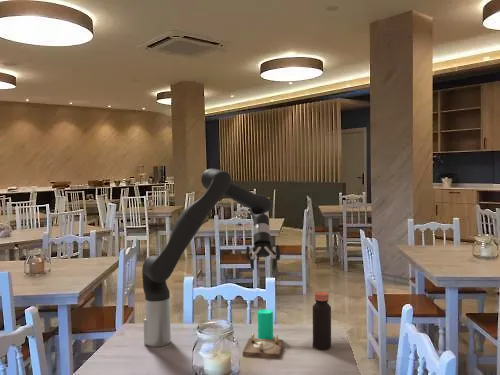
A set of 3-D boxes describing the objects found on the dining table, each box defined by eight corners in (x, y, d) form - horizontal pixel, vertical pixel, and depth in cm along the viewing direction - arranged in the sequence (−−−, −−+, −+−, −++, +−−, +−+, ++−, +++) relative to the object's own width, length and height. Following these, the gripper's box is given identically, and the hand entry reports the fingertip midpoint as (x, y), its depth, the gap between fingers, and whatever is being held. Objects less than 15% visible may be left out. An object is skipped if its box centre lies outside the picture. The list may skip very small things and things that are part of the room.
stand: (242, 356, 159) (242, 351, 159) (249, 342, 172) (249, 337, 172) (279, 358, 157) (279, 353, 157) (283, 343, 170) (283, 339, 170)
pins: (247, 351, 160) (247, 342, 160) (251, 341, 168) (251, 333, 168) (275, 352, 158) (275, 344, 158) (278, 343, 167) (278, 335, 167)
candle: (272, 340, 173) (271, 310, 172) (256, 339, 174) (256, 309, 174) (274, 335, 179) (273, 305, 178) (259, 334, 180) (259, 304, 180)
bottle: (335, 347, 166) (334, 293, 165) (322, 352, 162) (322, 297, 161) (321, 341, 171) (321, 289, 171) (308, 346, 167) (308, 293, 166)
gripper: (245, 231, 193) (246, 264, 182) (278, 230, 193) (281, 263, 182) (245, 241, 199) (246, 273, 188) (278, 240, 199) (280, 272, 188)
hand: (263, 268), depth 185 cm, fingers open, 8 cm apart
